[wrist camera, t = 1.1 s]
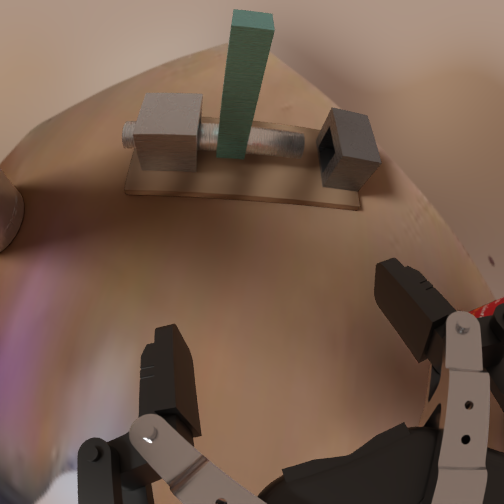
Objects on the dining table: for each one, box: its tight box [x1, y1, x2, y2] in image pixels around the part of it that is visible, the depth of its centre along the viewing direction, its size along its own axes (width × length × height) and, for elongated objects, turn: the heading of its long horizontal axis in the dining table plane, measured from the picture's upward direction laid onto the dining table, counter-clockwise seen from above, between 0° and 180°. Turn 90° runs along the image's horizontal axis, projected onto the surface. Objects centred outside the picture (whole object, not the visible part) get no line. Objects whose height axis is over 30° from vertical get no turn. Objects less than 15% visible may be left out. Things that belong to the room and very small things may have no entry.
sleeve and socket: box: [133, 93, 381, 192], centre depth 31 cm, size 24×7×6 cm, turn 90°
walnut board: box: [124, 117, 360, 211], centre depth 34 cm, size 26×11×1 cm, turn 90°
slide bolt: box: [122, 9, 305, 159], centre depth 25 cm, size 19×3×16 cm, turn 90°
